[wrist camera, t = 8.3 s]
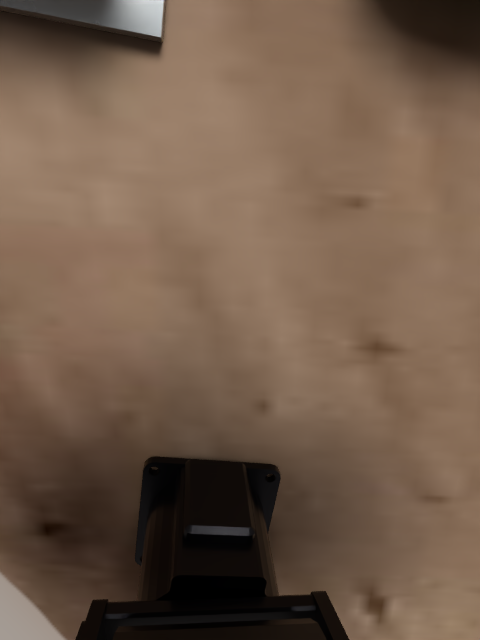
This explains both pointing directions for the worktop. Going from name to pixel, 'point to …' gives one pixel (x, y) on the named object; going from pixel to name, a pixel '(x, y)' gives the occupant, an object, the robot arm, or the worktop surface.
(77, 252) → the worktop surface
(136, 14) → the post
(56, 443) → the worktop surface
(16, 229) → the worktop surface
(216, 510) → the robot arm
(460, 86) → the worktop surface
